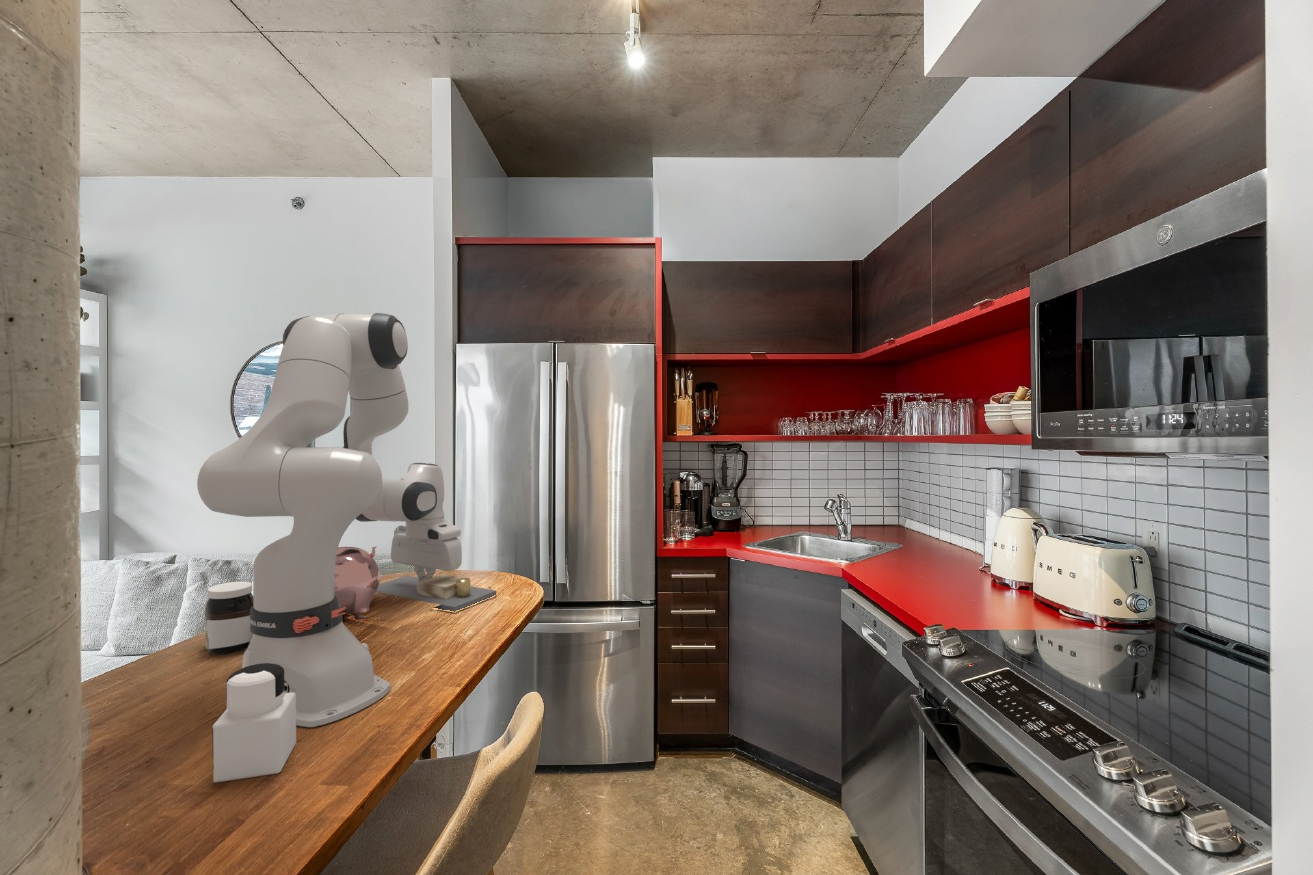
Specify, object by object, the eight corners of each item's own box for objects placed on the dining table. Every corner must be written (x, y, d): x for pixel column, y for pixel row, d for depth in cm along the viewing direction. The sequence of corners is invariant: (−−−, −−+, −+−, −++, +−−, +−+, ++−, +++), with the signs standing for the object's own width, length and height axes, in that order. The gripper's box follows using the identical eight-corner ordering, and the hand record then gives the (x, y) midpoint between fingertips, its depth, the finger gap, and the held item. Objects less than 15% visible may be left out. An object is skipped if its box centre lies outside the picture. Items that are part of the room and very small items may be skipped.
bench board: (496, 596, 144) (496, 590, 144) (454, 613, 131) (454, 606, 131) (407, 581, 157) (407, 575, 157) (361, 595, 144) (361, 589, 144)
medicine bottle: (234, 751, 77) (233, 661, 76) (296, 743, 79) (296, 655, 78) (211, 784, 70) (210, 685, 70) (280, 774, 72) (279, 677, 72)
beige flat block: (469, 590, 144) (469, 578, 144) (445, 599, 137) (445, 586, 136) (442, 585, 148) (442, 574, 147) (417, 594, 140) (416, 581, 140)
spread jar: (203, 644, 112) (202, 584, 112) (272, 630, 120) (272, 574, 119) (208, 664, 103) (208, 599, 103) (283, 648, 111) (283, 587, 110)
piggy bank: (285, 613, 130) (285, 542, 130) (374, 600, 140) (374, 534, 140) (287, 635, 117) (286, 556, 117) (385, 619, 127) (385, 546, 127)
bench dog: (473, 595, 140) (473, 578, 140) (463, 598, 137) (463, 581, 137) (462, 593, 141) (462, 576, 141) (453, 596, 139) (453, 580, 138)
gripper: (384, 526, 145) (384, 581, 146) (446, 534, 137) (446, 593, 137) (404, 522, 151) (404, 575, 152) (466, 529, 143) (466, 586, 143)
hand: (425, 584), depth 144 cm, fingers closed
